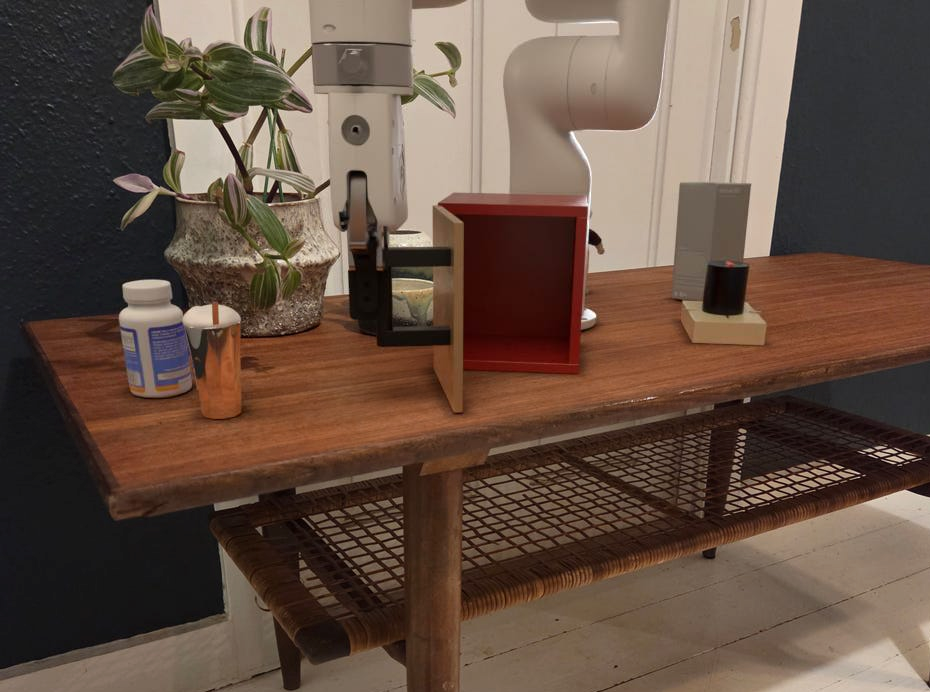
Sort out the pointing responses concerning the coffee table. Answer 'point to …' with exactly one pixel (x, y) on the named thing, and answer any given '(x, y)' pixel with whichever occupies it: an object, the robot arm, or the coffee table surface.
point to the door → (435, 302)
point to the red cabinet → (522, 280)
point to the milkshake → (215, 358)
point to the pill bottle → (154, 341)
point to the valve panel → (723, 325)
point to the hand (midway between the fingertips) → (371, 315)
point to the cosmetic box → (707, 232)
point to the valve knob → (725, 287)
